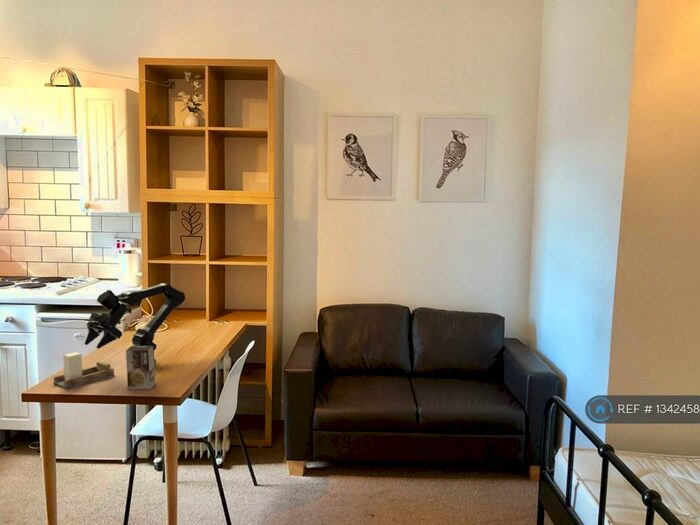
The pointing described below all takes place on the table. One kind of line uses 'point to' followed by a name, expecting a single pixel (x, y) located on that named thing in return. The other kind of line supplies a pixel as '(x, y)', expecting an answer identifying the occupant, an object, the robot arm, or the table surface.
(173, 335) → the table surface
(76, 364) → the block
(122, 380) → the table surface
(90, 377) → the track
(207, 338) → the table surface
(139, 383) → the coffee box
